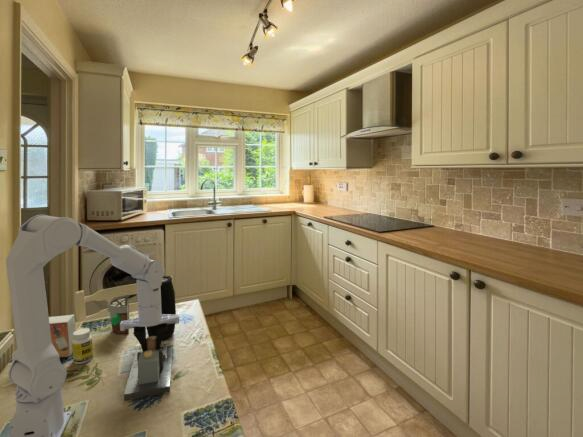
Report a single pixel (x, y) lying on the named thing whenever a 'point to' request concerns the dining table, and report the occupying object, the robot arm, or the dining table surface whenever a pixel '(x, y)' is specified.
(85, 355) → the supplement bottle
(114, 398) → the dining table surface
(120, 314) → the food container
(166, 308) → the portable speaker
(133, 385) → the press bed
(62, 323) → the small box
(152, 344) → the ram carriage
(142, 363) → the block
